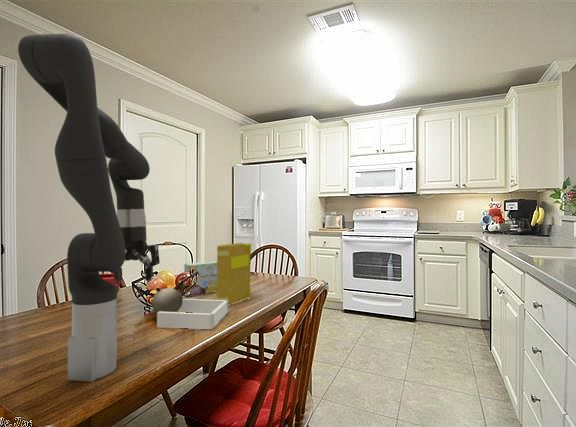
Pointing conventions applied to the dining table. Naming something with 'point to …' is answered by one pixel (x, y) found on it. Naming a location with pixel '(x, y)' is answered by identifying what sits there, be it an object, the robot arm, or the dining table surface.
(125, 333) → the dining table surface
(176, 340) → the dining table surface
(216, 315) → the box
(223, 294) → the book
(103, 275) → the plant pot
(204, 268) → the snack box
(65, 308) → the dining table surface
